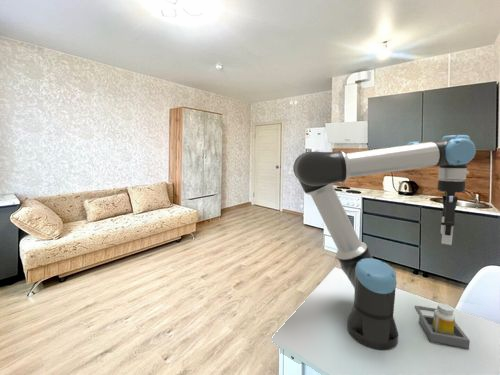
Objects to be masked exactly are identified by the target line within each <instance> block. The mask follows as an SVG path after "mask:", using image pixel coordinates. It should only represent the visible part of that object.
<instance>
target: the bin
mask: <svg viewBox="0 0 500 375" xmlns="http://www.w3.org/2000/svg"><path fill="white" fill-rule="evenodd" d="M418 315H419V316H418V323H419V325H420V327H421V328H422V330H423V333H424V334H425V335H426V337H427V339H428V341H429V343H432V344H435V345H436V344H437V345H443V346H447V347H453V348H459V349H462V350H463V349H464V350H470V342H471V339H469V338H468V336H467V335H466V334H465V332H464V330H462V329H461V327H460V326H459V325H458V323H457V322H456V321H455V325H454V332H453V336H452V335H447V334H441V333H435V332H433V330H432V327H433V318H434V315H433V316H432V315H426V314H423V315H421V314H418Z"/></svg>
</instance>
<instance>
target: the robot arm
mask: <svg viewBox="0 0 500 375" xmlns="http://www.w3.org/2000/svg"><path fill="white" fill-rule="evenodd" d="M476 153H477V151H476V145H475V142H473V141H472V140H471V136H469V135H467V134H454V135H453V134H452V135H444V136H442V138H441V139H440V140H437V139H436V140H426V141H421V140H420V141H418V140H417V141H410V142H407V143H406V145H398V146H397V145H396V146H391V147H382V148H375V149H370V150H369V149H368V150H361V151H354V152H347V153H345V152H344V151H342V150H338V151H315V150H314V151H306V152H303V153H301V154H300V155H298V157H297V158H296V159H295V160H294V162H293V169H292V170H293V174H294V175H295V177H296V179H297V180H298V182H299V184H300V186H301V188H302V190H303V191H304V193H305V194H306V195H310V196H311V198H312V200H313V202H314V206H316V209H317V210H318V213H319V214H320V217H321V218H322V221H323V223H324V225H325V226H326V228H327V230H328V233H329V235H330V236H331V238H332V241H333V243H334V244H335V247H336V249H337V251H336V254H335V255H336V257H337V259H338V261H339V264H340V267H341V270H342V272H343V273H344V274H345V275H346V277H347V278H348V280H349V282H350V284H351V286H353V288H354V294H353V295H354V296H353V306H352V310H351V311H350V313H349V316H348V318H347V325H346V327H347V330H348V333H349V335H350V337H351V336H352V338H353V339H354V340H356V341H357V342H358V343H360V344H361V345H363V346H366V347H367V348H368V347H369V348H370V349H375V350H381V351H382V350H384V351H385V350H391V349H394V348H395V347H396V346H397V345H398V343H399V332H398V328H397V325H396V321H395V316H394V310H395V303H396V302H395V300H396V288H397V284H398V283H397V274H396V271H395V270H394V268H393V267H392V266H391V265H390V264H388V263H386V262H384V261H382V260H379V259H376V258H373V255H372V254H371V251H370V249H369V248H368V245H367V243H365V242H363V241H361V240H360V239H359V236H358V234H357V233H356V230H355V228H354V227H353V224H352V222H351V220H350V218H349V216H348V214H347V212H346V210H345V208H344V206H343V204H342V201H341V200H340V198H339V196H338V193H337V192H336V189H335V187H334V184H335V183H341V182H342V183H343V182H346V181H347V180H348V179H349V178H354V177H355V178H356V177H363V176H371V175H378V174H385V173H386V174H387V173H394V172H395V173H396V172H400V171H408V170H416V169H417V170H418V169H424V168H430V167H438V168H439V169H438V176H437V178H438V179H439V180H438V181H437V190H438V191H439V192H444V195H442V199H441V200H442V205H443V206H442V212H441V213H442V217H441V224H440V234H441V244H443V245H447V246H449V245H450V246H453V244H452V243H453V234H454V227H455V218H456V217H455V216H456V215H455V214H456V209H457V203H458V196H456V193H464V192H465V191H466V181H465V180H466V179H467V175H468V174H470V171H469V170H468V164H469V162H471V161H472V160H473V159H474V158H475V156H476Z"/></svg>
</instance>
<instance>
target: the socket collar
mask: <svg viewBox="0 0 500 375" xmlns="http://www.w3.org/2000/svg"><path fill="white" fill-rule="evenodd" d="M414 309H415V310H416V312H417V314H418V315H419V314H421V315H424V314H423V313H422V311H430V312H434V311H435V310H436V309H437V308H435V307H429V306H423V305H422V306H420V305H414ZM421 310H422V311H421Z"/></svg>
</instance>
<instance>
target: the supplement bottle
mask: <svg viewBox="0 0 500 375" xmlns="http://www.w3.org/2000/svg"><path fill="white" fill-rule="evenodd" d="M433 316H434V318H433V327H432V330H433V332H435V333H441V334H447V335H452V336H453V332H454V325H455V322H456V316H455V315H454V308H453V307H452V306H451V305H449V304H446V303H444V302H443V303H442V302H441V303H437V308H436V310H435V311H433Z"/></svg>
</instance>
